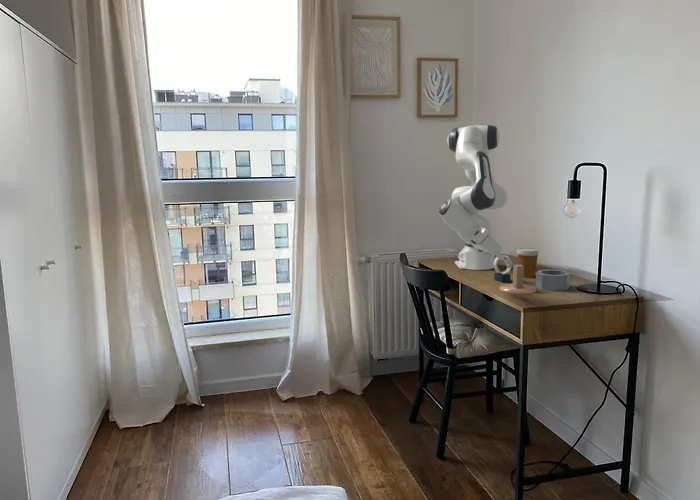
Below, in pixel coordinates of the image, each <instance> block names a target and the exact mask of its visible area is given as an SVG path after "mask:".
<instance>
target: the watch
mask: <svg viewBox="0 0 700 500" xmlns="http://www.w3.org/2000/svg"><path fill="white" fill-rule="evenodd" d="M503 257H504V258H503V259H502V261H503V263H504V264H505V266H506V268H505V269H506V270H504V271H501V270H500V268H499V266H498V261H500V260H499V259H498V258H497V257H496V256H495V257H494V259H495V260H494V265H493V266H494V268H493V269H494V270H495V272H494V275H493V276H494V277H493V278H494V281H495V282H499V283H502V284H503V283H508V282H511V274H510V273H509V272H511V269H513V265H514V264H513V260H512V259H511V258H510V257H509V256H508V255H506V254H505V255H503Z"/></svg>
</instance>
